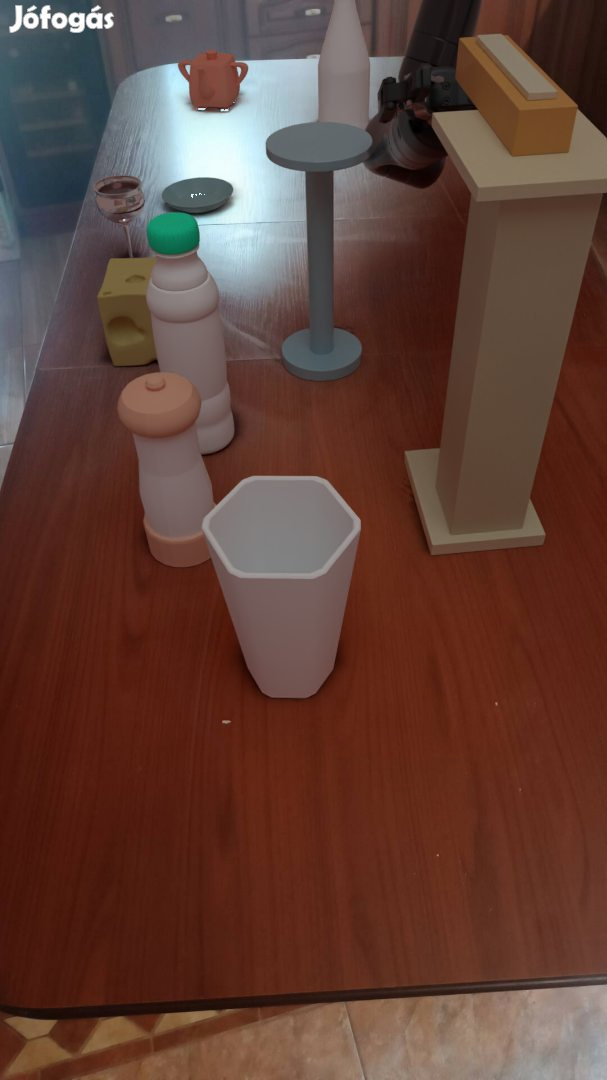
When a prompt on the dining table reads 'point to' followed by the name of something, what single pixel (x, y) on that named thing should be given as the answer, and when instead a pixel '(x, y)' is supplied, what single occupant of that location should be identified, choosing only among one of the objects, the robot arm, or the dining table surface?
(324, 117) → the wine bottle
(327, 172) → the cake stand
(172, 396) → the salt shaker
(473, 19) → the robot arm
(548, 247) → the beige pedestal column
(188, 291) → the water bottle
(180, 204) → the saucer
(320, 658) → the cup
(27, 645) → the dining table surface
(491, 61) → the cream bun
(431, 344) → the dining table surface
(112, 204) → the wineglass
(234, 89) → the brown sugar bowl
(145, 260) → the cheese
